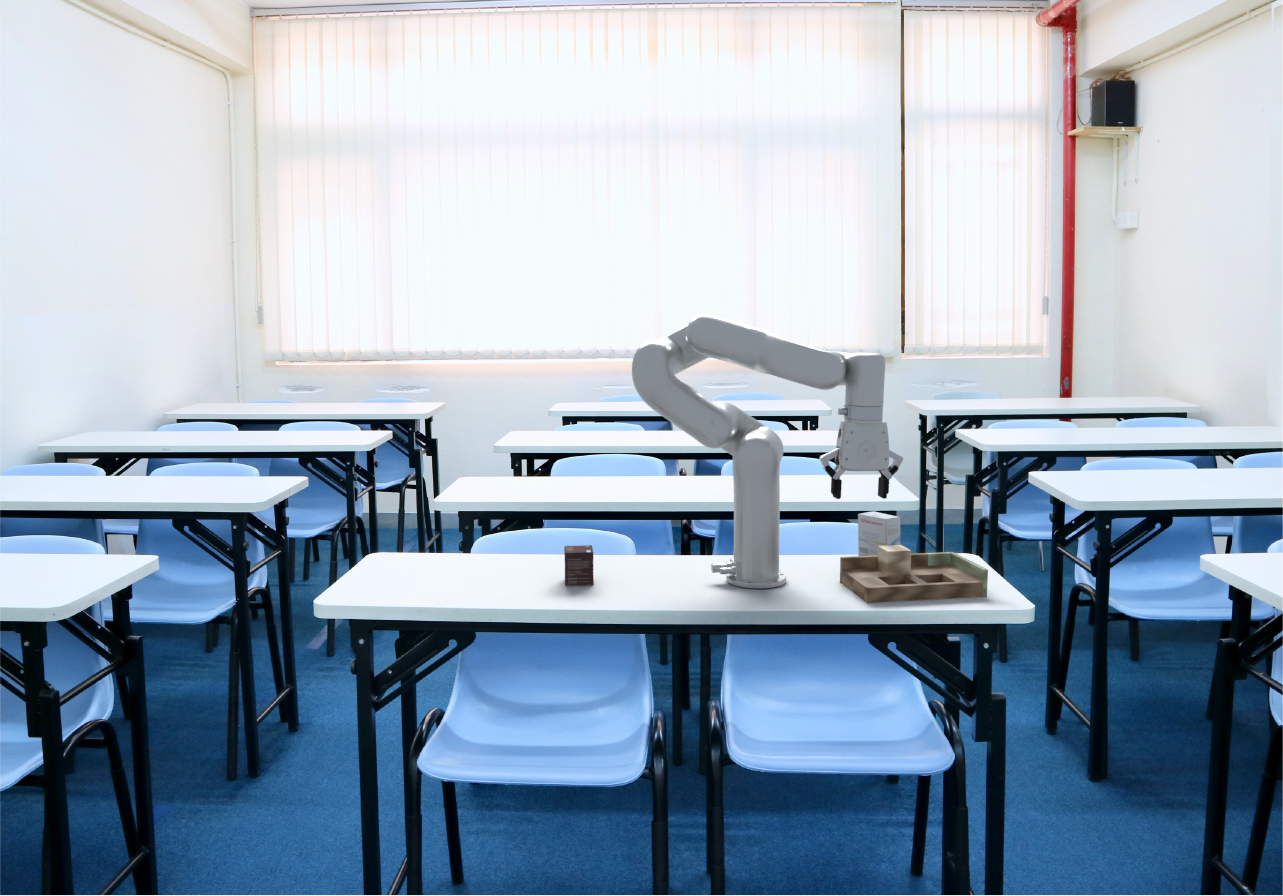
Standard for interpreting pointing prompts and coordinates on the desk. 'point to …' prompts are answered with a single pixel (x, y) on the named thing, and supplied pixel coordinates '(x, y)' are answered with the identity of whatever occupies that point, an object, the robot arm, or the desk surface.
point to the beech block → (894, 560)
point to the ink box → (877, 532)
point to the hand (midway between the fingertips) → (859, 497)
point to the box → (578, 565)
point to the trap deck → (915, 578)
